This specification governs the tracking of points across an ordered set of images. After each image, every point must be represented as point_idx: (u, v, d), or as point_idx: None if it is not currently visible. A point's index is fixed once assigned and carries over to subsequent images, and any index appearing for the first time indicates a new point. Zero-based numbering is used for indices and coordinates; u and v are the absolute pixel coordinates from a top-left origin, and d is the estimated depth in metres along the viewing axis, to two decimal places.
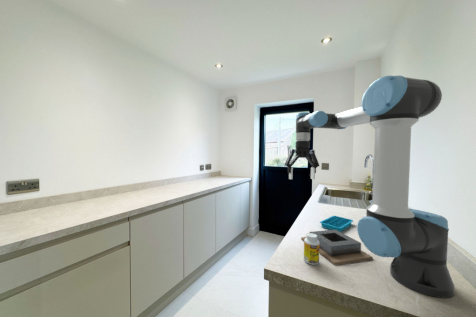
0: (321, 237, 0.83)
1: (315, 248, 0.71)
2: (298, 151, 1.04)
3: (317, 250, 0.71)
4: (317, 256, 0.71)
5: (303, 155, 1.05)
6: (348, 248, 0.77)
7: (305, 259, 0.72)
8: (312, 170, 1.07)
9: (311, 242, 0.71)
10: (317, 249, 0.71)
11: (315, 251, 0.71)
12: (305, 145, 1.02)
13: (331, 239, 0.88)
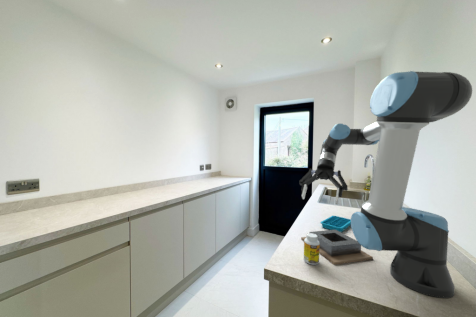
0: (321, 237, 0.83)
1: (315, 248, 0.71)
2: (317, 170, 0.92)
3: (317, 250, 0.71)
4: (317, 256, 0.71)
5: (323, 174, 0.89)
6: (348, 248, 0.77)
7: (305, 259, 0.72)
8: None
9: (311, 242, 0.71)
10: (317, 249, 0.71)
11: (315, 251, 0.71)
12: (323, 162, 0.91)
13: (331, 239, 0.88)
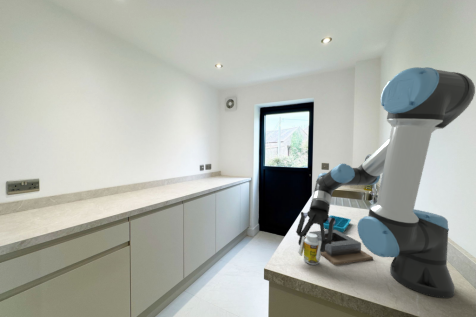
0: None
1: (315, 248, 0.71)
2: (309, 213, 0.81)
3: None
4: None
5: (316, 219, 0.78)
6: (348, 248, 0.77)
7: (305, 259, 0.72)
8: None
9: (311, 242, 0.71)
10: (317, 249, 0.71)
11: (315, 251, 0.71)
12: (316, 204, 0.80)
13: None
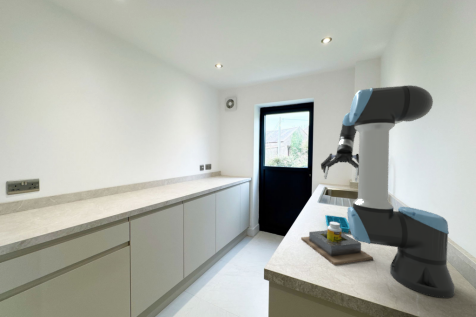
0: (321, 237, 0.83)
1: (338, 234, 0.81)
2: (337, 155, 1.04)
3: (340, 235, 0.81)
4: None
5: (343, 158, 1.01)
6: (348, 248, 0.77)
7: None
8: (356, 171, 0.93)
9: (334, 229, 0.82)
10: (340, 235, 0.81)
11: (338, 236, 0.81)
12: (342, 147, 1.03)
13: None
